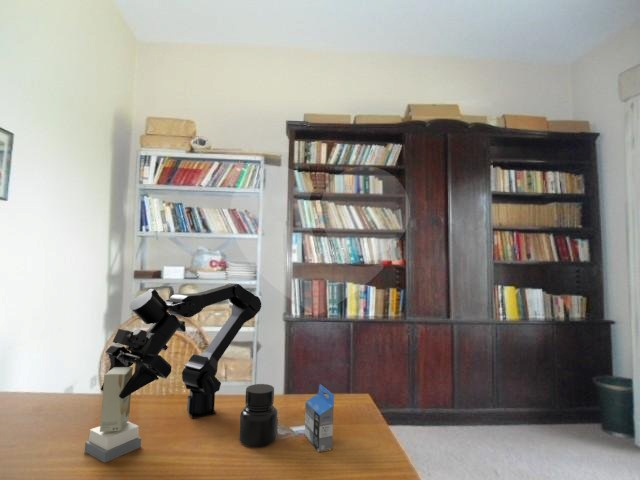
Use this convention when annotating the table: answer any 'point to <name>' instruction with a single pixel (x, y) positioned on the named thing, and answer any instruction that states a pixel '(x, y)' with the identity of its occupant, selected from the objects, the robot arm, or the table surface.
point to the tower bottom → (111, 450)
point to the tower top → (113, 436)
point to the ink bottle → (258, 417)
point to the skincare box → (115, 399)
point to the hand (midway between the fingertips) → (111, 394)
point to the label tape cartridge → (320, 419)
